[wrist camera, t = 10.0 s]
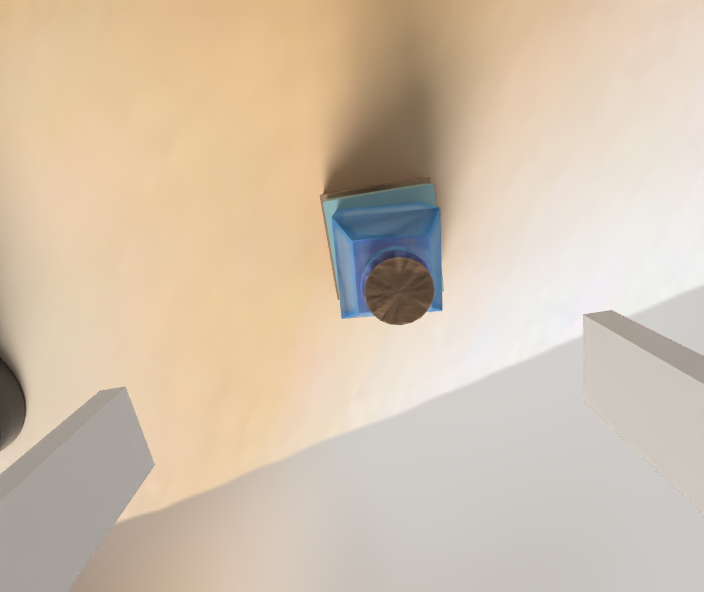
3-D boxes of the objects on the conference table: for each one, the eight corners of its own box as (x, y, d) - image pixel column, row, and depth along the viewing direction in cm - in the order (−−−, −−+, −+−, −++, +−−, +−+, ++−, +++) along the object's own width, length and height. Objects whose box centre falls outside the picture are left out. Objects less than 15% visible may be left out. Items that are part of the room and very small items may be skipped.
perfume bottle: (422, 201, 28) (468, 216, 17) (425, 284, 30) (468, 350, 18) (336, 209, 28) (323, 228, 17) (344, 291, 30) (337, 359, 19)
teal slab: (342, 292, 34) (340, 306, 30) (326, 199, 32) (322, 201, 28) (433, 278, 34) (443, 291, 30) (424, 183, 32) (433, 183, 28)
